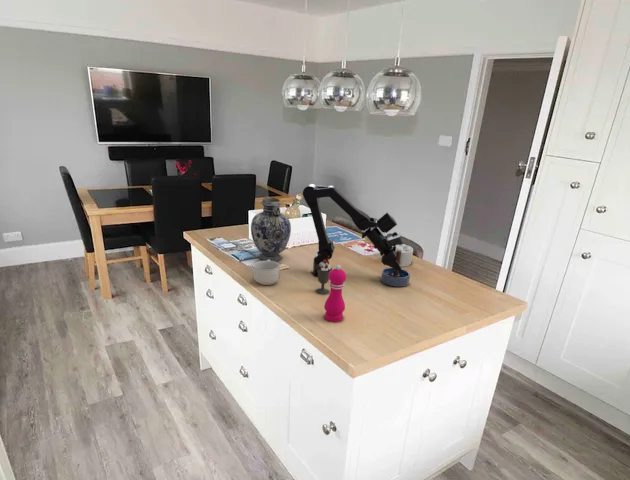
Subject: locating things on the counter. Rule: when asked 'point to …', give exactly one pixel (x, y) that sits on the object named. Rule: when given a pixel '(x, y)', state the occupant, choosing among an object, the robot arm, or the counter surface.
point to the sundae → (323, 275)
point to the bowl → (395, 281)
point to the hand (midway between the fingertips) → (400, 266)
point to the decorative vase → (270, 230)
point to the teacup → (266, 272)
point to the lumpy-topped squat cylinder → (405, 254)
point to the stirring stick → (395, 272)
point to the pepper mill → (335, 295)
